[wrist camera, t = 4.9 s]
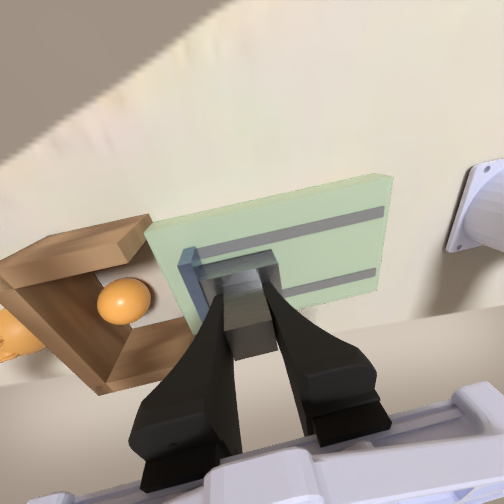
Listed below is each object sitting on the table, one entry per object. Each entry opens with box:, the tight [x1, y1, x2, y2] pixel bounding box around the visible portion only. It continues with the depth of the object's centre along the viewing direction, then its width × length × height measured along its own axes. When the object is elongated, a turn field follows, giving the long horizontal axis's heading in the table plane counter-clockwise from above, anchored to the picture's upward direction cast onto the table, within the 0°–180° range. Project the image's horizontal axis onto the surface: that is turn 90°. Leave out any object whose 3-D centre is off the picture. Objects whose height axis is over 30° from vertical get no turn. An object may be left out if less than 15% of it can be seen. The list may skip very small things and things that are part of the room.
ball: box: [97, 278, 151, 325], centre depth 16 cm, size 4×4×4 cm
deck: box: [144, 173, 393, 335], centre depth 17 cm, size 17×10×2 cm, turn 101°
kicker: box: [177, 246, 283, 361], centre depth 13 cm, size 6×7×6 cm
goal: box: [0, 214, 196, 396], centre depth 15 cm, size 7×11×5 cm, turn 11°
